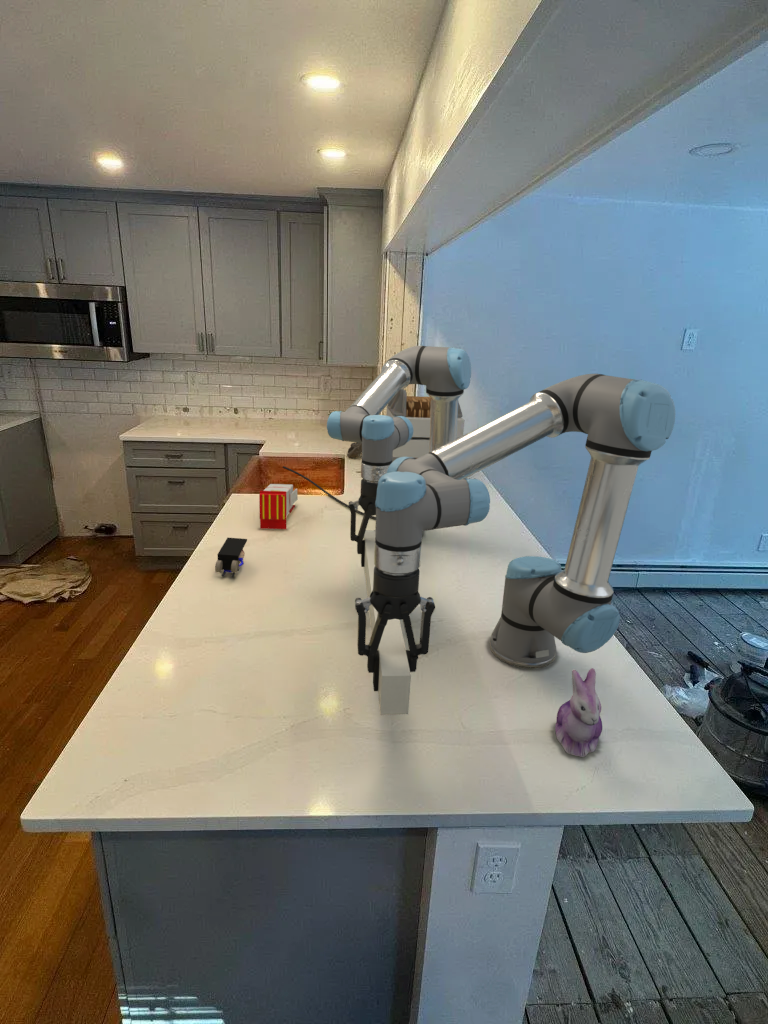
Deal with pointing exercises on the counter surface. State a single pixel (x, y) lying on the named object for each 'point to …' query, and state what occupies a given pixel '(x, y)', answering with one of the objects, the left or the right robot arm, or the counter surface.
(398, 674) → the beam
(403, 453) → the transformer
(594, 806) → the counter surface
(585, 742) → the figurine
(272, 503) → the toy
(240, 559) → the black wheeled rover
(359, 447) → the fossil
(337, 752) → the counter surface
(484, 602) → the counter surface
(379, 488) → the right robot arm
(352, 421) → the left robot arm
